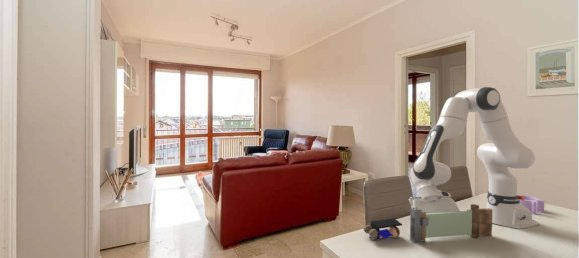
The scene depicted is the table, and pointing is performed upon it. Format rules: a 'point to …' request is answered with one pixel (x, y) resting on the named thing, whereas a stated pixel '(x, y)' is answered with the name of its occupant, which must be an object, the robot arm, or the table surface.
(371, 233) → the figurine character
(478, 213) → the wooden hinge block
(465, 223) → the gate
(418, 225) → the latch post
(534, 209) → the clip
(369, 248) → the table surface
